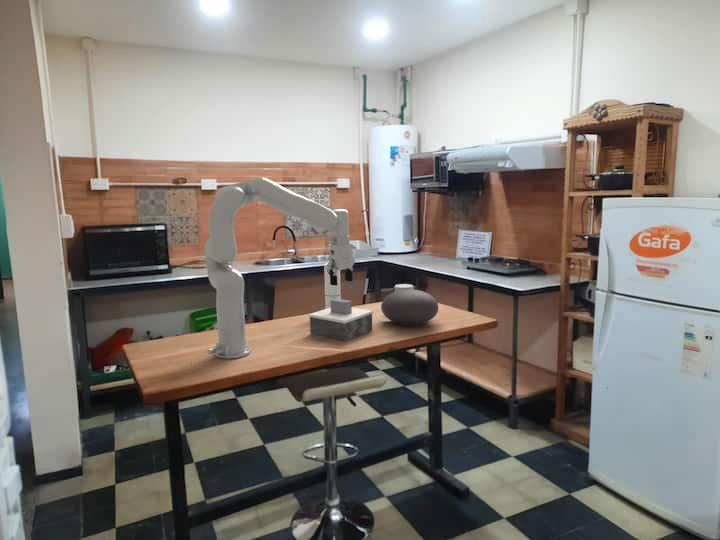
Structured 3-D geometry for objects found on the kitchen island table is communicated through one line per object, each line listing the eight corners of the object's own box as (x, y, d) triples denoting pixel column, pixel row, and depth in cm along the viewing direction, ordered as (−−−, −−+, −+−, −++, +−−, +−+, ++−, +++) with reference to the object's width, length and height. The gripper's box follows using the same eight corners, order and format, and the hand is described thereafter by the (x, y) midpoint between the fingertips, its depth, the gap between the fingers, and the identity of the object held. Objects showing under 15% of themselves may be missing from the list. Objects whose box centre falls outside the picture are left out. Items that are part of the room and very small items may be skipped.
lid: (345, 326, 186) (344, 308, 185) (308, 319, 197) (308, 302, 196) (373, 316, 201) (372, 299, 200) (337, 310, 212) (337, 293, 211)
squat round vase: (405, 313, 232) (405, 282, 229) (449, 322, 214) (450, 289, 212) (369, 324, 214) (369, 290, 212) (414, 335, 197) (414, 299, 195)
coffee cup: (414, 311, 234) (414, 287, 232) (395, 312, 234) (395, 287, 232) (412, 307, 244) (412, 283, 242) (393, 307, 243) (393, 284, 242)
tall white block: (342, 315, 230) (340, 262, 226) (339, 319, 223) (338, 265, 219) (327, 315, 231) (325, 262, 227) (324, 319, 224) (322, 265, 220)
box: (345, 343, 188) (345, 323, 186) (310, 335, 198) (309, 316, 197) (372, 332, 202) (372, 313, 201) (338, 325, 212) (337, 307, 211)
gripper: (333, 243, 185) (335, 287, 188) (360, 238, 199) (361, 280, 201) (318, 242, 189) (320, 286, 192) (345, 238, 203) (347, 278, 206)
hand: (341, 283), depth 197 cm, fingers open, 9 cm apart
